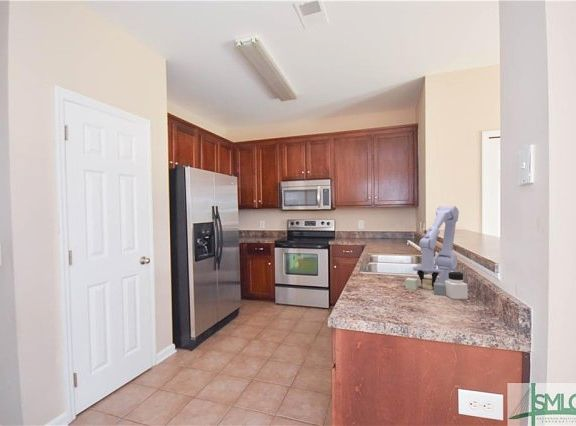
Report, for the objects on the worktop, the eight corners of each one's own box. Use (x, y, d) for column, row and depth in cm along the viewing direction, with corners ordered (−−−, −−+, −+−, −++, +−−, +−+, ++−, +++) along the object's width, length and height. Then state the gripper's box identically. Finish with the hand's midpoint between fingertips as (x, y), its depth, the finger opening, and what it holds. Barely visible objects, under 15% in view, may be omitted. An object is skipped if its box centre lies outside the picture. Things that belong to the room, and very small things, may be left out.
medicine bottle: (468, 299, 131) (467, 273, 131) (452, 299, 131) (452, 273, 131) (459, 294, 138) (458, 270, 138) (444, 294, 138) (444, 270, 138)
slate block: (433, 292, 143) (433, 282, 143) (443, 293, 141) (443, 283, 141) (434, 294, 139) (434, 284, 139) (444, 295, 137) (444, 285, 137)
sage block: (408, 286, 154) (408, 277, 154) (417, 288, 151) (417, 278, 151) (405, 288, 150) (405, 279, 150) (415, 290, 147) (415, 280, 147)
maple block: (424, 286, 153) (424, 277, 153) (433, 288, 150) (433, 278, 151) (422, 288, 150) (422, 279, 150) (431, 289, 147) (431, 280, 147)
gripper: (411, 260, 152) (411, 285, 152) (441, 262, 143) (441, 289, 142) (414, 258, 157) (415, 282, 157) (444, 260, 148) (444, 286, 148)
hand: (428, 285), depth 150 cm, fingers closed on maple block, 4 cm apart
